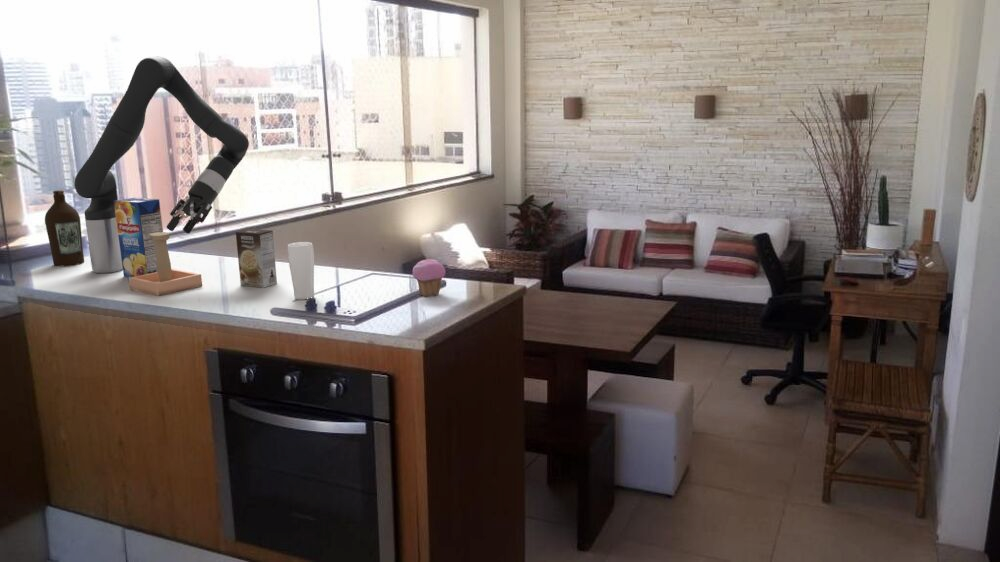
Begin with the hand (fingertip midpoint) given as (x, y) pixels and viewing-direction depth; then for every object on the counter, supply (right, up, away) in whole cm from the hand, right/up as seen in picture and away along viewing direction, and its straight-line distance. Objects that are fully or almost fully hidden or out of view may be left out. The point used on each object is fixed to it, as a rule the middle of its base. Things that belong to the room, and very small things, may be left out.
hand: (177, 230), depth 242 cm
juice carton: (-16, -13, +16) cm, 27 cm away
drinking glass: (+42, -20, -17) cm, 49 cm away
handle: (-3, -16, -1) cm, 16 cm away
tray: (-3, -17, -1) cm, 17 cm away
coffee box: (+24, -16, 0) cm, 29 cm away
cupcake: (+76, -19, -18) cm, 81 cm away
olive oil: (-53, -9, +39) cm, 66 cm away
